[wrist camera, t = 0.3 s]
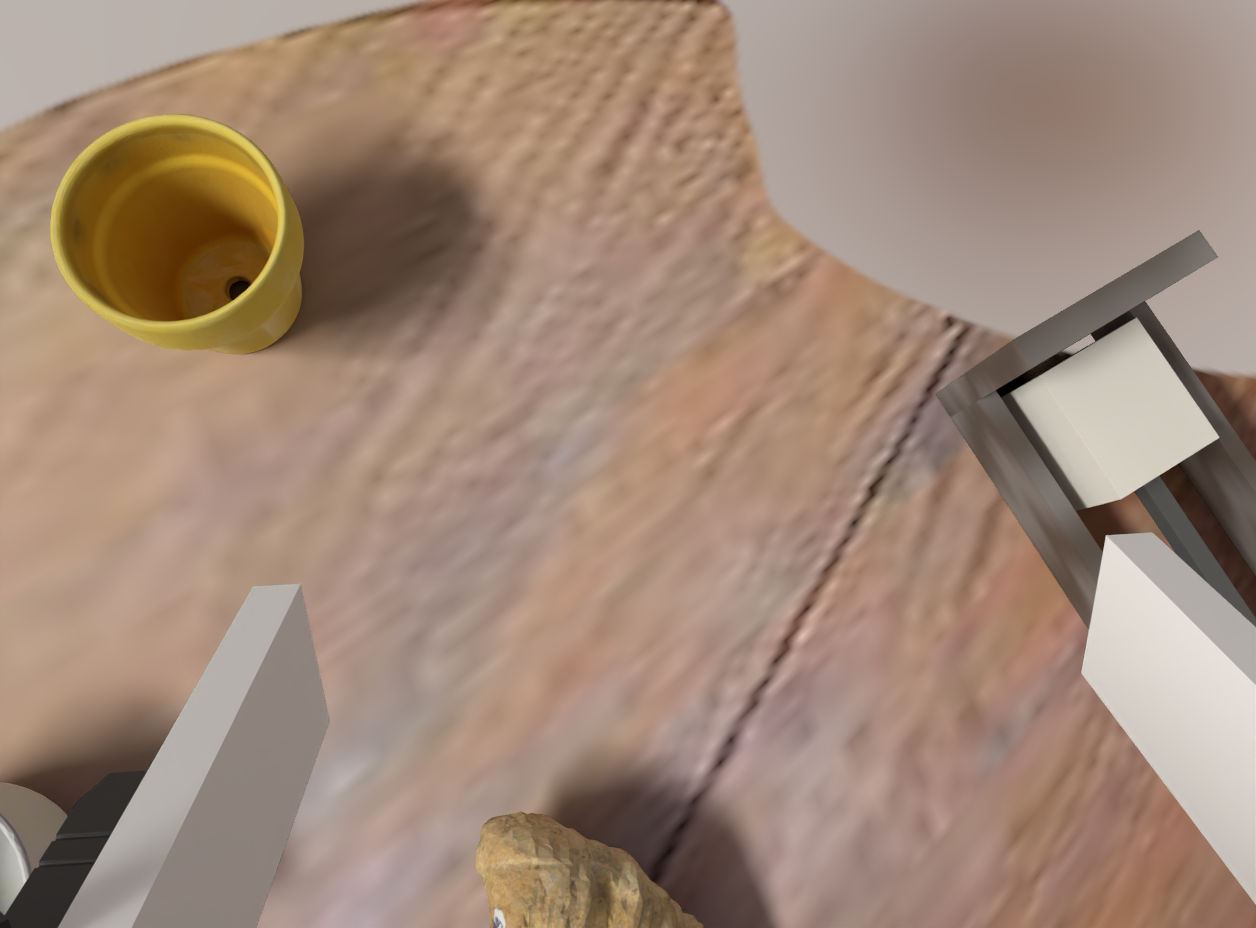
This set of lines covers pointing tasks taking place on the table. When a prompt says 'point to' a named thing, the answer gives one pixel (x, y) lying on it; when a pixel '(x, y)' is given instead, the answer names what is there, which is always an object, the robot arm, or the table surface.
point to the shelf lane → (1221, 472)
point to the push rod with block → (1121, 436)
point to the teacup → (23, 836)
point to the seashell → (566, 880)
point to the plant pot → (181, 235)
